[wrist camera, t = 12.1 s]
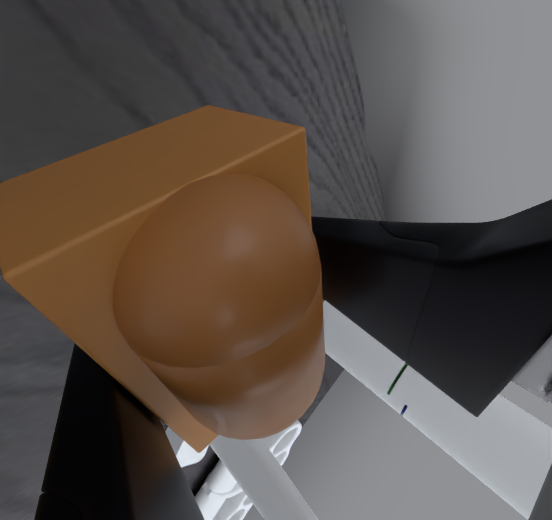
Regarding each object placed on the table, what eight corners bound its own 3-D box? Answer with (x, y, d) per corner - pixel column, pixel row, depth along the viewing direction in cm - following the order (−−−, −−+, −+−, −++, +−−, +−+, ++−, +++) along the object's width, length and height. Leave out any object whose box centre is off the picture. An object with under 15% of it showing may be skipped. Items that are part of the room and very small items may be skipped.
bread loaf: (259, 290, 12) (364, 373, 9) (149, 373, 10) (237, 518, 7) (209, 103, 7) (396, 146, 4) (-21, 188, 5) (22, 392, 2)
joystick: (221, 342, 25) (469, 615, 13) (267, 350, 31) (467, 543, 19) (149, 450, 25) (331, 824, 13) (209, 437, 31) (372, 685, 19)
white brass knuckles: (242, 409, 33) (299, 402, 45) (155, 542, 34) (235, 500, 45) (261, 433, 31) (316, 419, 43) (168, 574, 31) (248, 521, 43)
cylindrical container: (306, 350, 38) (539, 551, 23) (308, 312, 34) (598, 531, 19) (341, 320, 42) (562, 477, 27) (347, 283, 37) (616, 445, 22)
